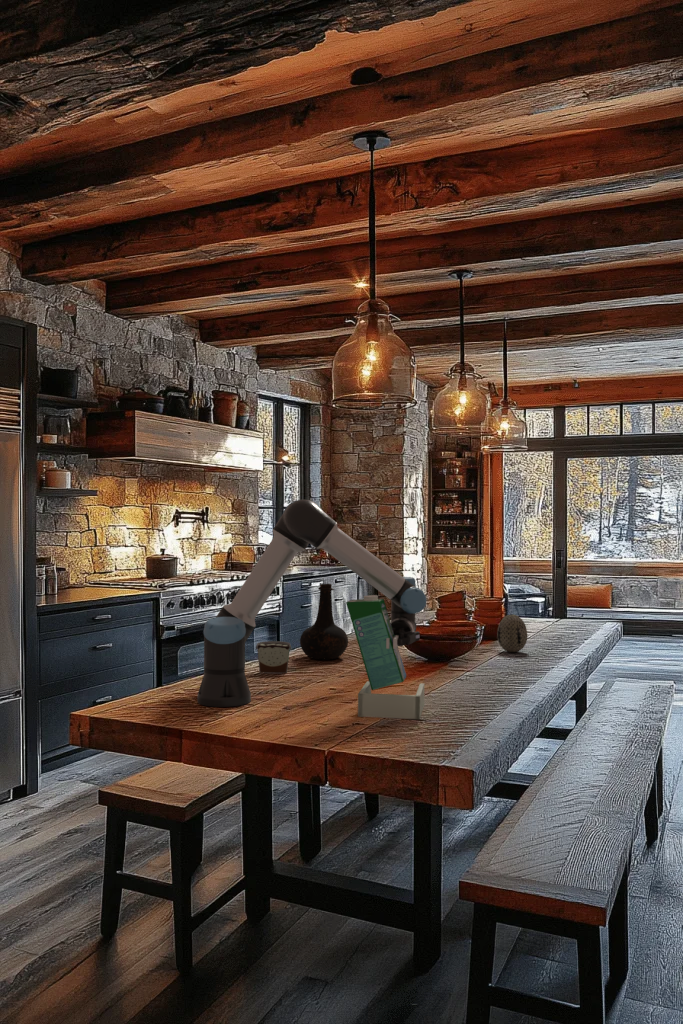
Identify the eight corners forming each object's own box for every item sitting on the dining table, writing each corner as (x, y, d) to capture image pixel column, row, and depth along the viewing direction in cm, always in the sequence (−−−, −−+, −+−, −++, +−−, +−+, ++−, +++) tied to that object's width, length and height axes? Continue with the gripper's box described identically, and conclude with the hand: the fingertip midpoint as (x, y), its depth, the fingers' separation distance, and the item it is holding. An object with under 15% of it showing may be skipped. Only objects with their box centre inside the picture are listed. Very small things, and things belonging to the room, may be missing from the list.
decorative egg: (532, 654, 323) (532, 615, 323) (505, 655, 320) (505, 616, 320) (518, 649, 334) (518, 612, 335) (492, 650, 331) (492, 613, 331)
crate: (419, 719, 217) (419, 696, 217) (357, 716, 220) (358, 693, 220) (424, 704, 234) (424, 683, 234) (366, 702, 237) (367, 681, 237)
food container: (294, 670, 286) (294, 641, 286) (291, 673, 280) (291, 644, 280) (258, 669, 287) (259, 640, 287) (255, 672, 281) (255, 643, 281)
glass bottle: (290, 659, 308) (291, 583, 309) (318, 652, 323) (318, 581, 323) (330, 664, 298) (330, 586, 299) (356, 657, 313) (357, 583, 314)
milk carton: (403, 681, 223) (376, 592, 225) (371, 690, 225) (345, 601, 227) (406, 676, 232) (381, 590, 234) (376, 684, 234) (351, 599, 236)
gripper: (423, 645, 245) (417, 658, 222) (376, 643, 248) (364, 656, 225) (423, 620, 245) (417, 630, 222) (376, 618, 248) (365, 629, 225)
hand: (391, 643), depth 223 cm, fingers closed on milk carton
